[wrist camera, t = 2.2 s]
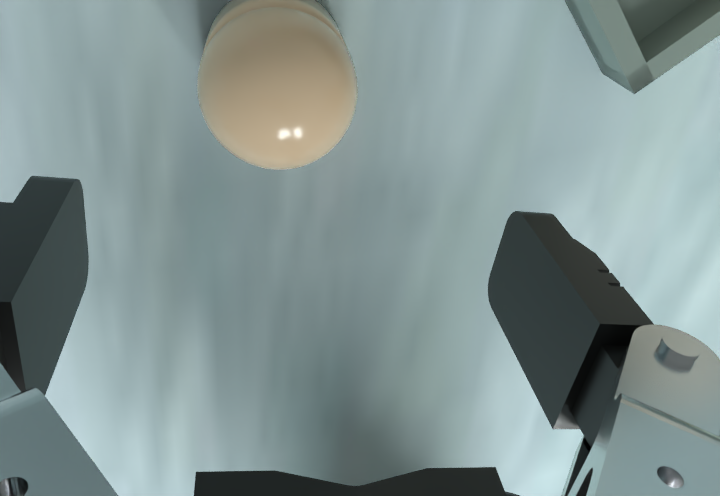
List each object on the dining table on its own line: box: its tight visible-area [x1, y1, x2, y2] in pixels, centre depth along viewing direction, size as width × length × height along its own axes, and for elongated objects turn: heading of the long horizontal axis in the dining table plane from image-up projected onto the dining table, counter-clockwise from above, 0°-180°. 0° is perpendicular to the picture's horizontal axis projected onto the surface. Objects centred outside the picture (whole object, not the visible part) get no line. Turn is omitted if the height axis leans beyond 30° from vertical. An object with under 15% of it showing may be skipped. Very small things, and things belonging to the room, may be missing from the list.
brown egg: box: [197, 0, 358, 170], centre depth 20 cm, size 5×5×6 cm
